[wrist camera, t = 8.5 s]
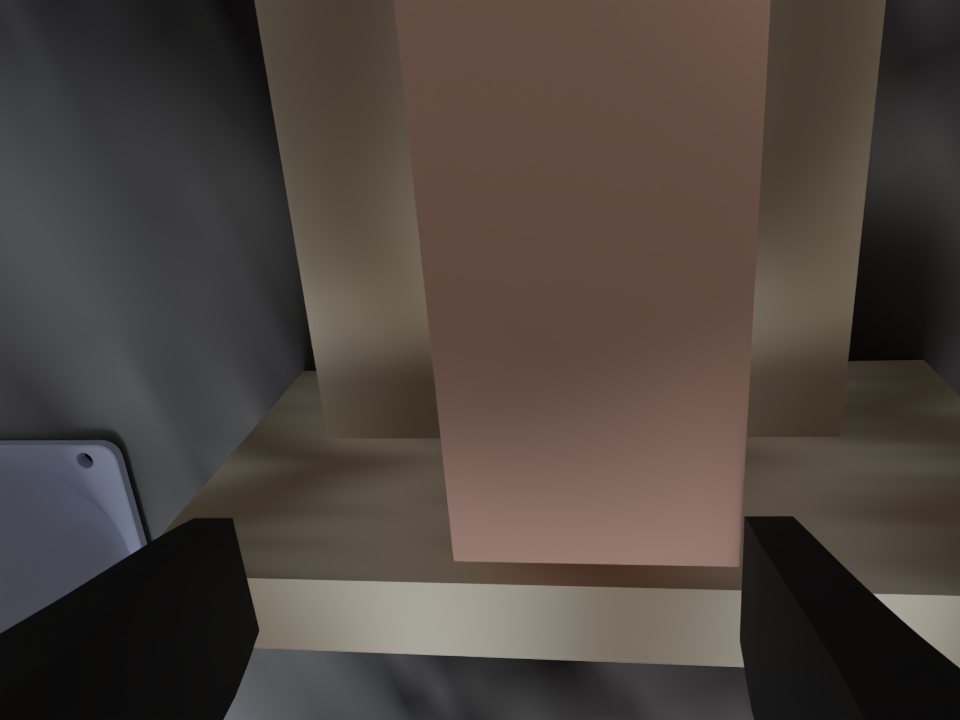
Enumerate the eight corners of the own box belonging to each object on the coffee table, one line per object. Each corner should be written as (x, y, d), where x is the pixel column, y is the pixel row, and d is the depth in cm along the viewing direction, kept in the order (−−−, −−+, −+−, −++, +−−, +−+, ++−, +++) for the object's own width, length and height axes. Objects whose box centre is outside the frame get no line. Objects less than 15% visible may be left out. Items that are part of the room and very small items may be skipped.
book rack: (312, 419, 22) (147, 643, 14) (216, -129, 17) (-123, -272, 9) (915, 414, 20) (1137, 682, 12) (1007, -227, 15) (1509, -541, 7)
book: (517, 326, 21) (453, 561, 12) (488, -130, 17) (359, -320, 8) (674, 322, 20) (739, 567, 11) (681, -152, 16) (793, -390, 7)
